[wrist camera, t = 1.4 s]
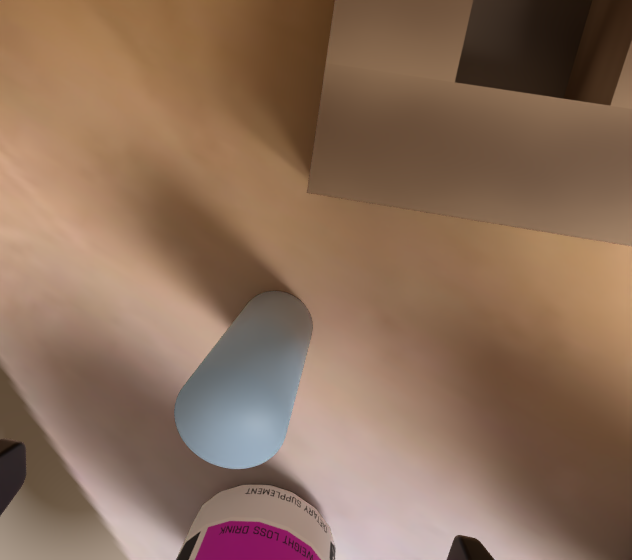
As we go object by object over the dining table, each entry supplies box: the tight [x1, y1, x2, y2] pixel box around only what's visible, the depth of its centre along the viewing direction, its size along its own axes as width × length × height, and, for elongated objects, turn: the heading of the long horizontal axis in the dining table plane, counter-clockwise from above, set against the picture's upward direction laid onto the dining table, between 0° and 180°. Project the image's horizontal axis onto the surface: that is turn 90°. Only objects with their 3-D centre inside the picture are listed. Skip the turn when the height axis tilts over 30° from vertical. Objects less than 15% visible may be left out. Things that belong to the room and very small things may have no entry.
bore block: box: [307, 0, 632, 246], centre depth 15 cm, size 13×13×4 cm
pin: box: [174, 291, 313, 469], centre depth 17 cm, size 4×4×8 cm
